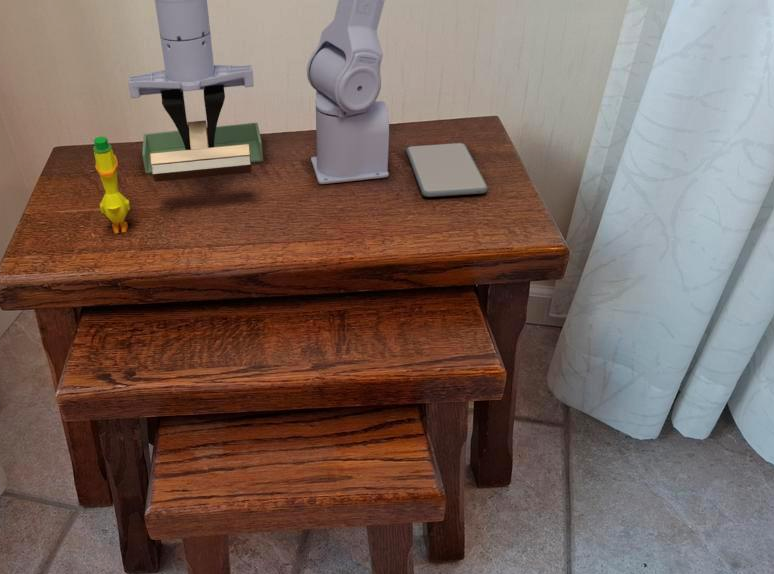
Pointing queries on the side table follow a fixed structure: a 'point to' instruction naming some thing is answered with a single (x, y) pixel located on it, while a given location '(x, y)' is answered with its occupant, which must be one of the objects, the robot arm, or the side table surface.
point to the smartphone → (445, 170)
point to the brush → (200, 158)
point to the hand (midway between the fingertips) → (200, 148)
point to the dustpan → (221, 136)
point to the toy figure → (110, 185)
